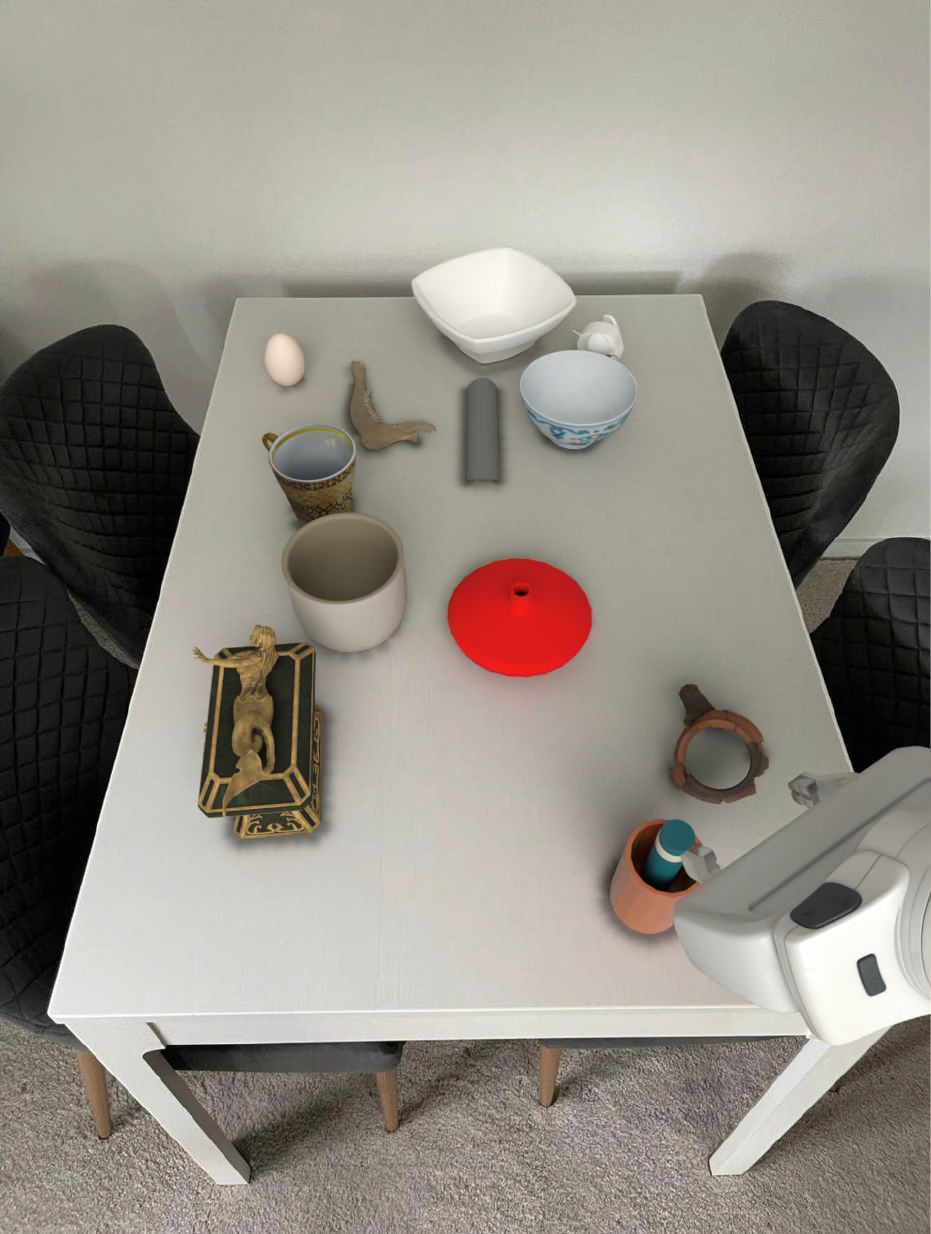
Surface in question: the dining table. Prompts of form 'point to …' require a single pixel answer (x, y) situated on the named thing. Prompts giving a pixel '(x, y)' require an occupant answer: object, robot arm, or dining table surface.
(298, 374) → the egg
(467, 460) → the half round rod
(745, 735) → the broken brown pottery vessel
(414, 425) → the jawbone
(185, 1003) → the dining table surface
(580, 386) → the chinaware
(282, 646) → the decorative box
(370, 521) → the planter
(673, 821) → the teal banded tube
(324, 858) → the dining table surface
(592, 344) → the elephant figurine
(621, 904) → the tumbler
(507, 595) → the red disc with nozzle
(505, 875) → the dining table surface
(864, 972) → the robot arm
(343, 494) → the ceramic cup
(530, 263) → the bowl
